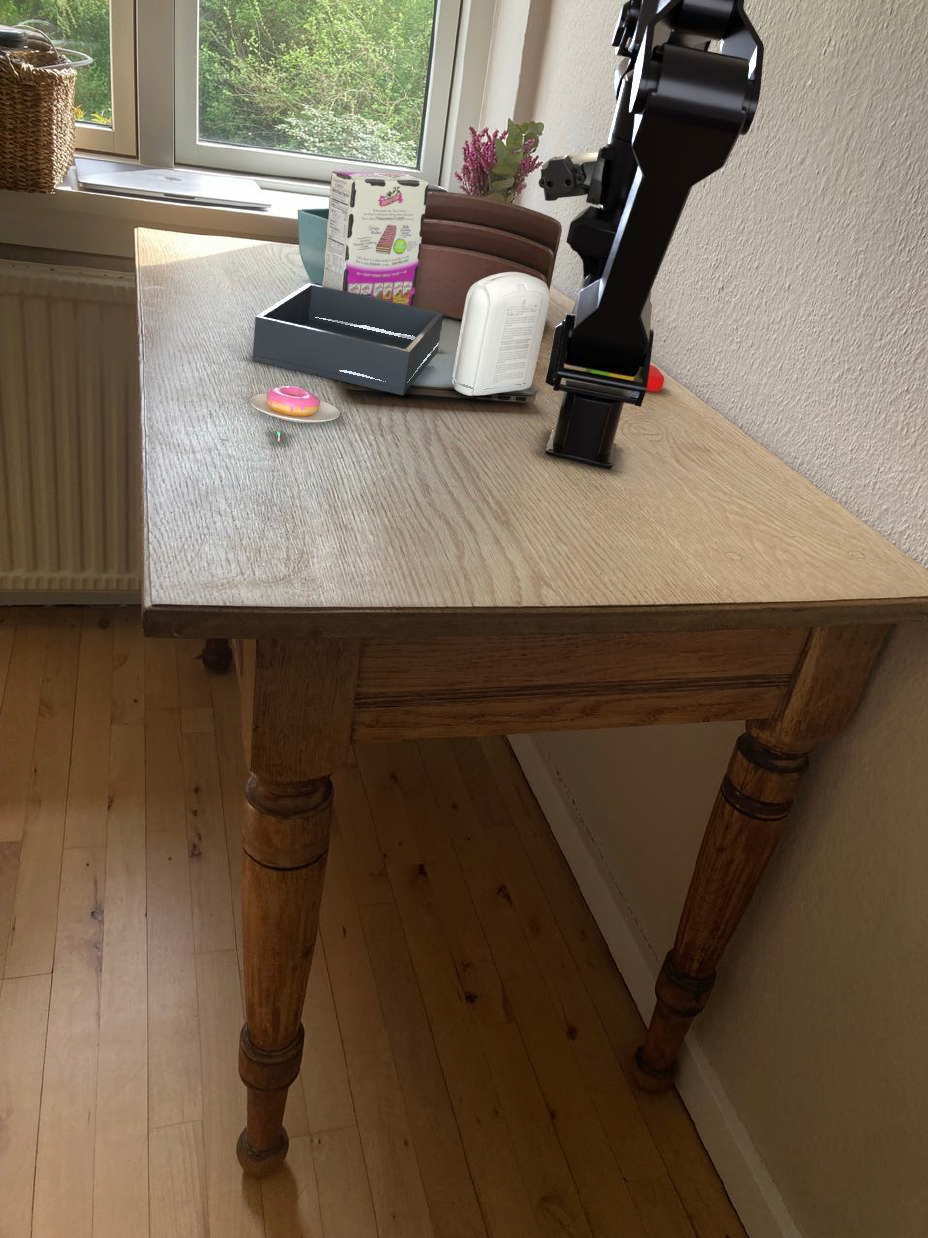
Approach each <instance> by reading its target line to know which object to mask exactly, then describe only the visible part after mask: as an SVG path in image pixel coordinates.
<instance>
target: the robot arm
mask: <svg viewBox="0 0 928 1238" xmlns="http://www.w3.org/2000/svg"><path fill="white" fill-rule="evenodd" d="M744 7H745V0H627V1H625V3H623V4H622V6H621V9H620V13H619V16H618V19H617V22H616V25H615V28H614V32H613V35H612V41H611V47H615V56H618V57H622V58H623V59H622V60H621V61H620V62H619V64H618V66H617V68H616V70H615V72H614V78H613V79H614V80H613V84H614V85H613V86H614V94H615V101H616V108H615V111H614V116H613V120H612V124H611V128H610V132H609V135H608V140H607V141H606V143H605V144H603V146H601V147H600V148H599V150H598V152H585V153H578V154H566V155H559V156H553V157H551V158H549V159H548V160H547V161H545V162H544V163H543V164H542V165H541V166H540V179H539V180H538V186H539V188H541V189H543V196H544V201H546V202H547V201H548V202H554V201H557V200H558V199H562V198H571V197H572V198H573V197H581V196H586V199H585V203H586V204H587V203H588V204H590V206H588V207H586V208H585V209H583V210H581V211H580V212H578V213H577V215H576V216H574V218H573V219H572V221H571V222H570V224H569V227H568V232H567V235H566V236H567V237H566V241H565V243H566V244H568V245H569V247H570V249H571V250H572V251H573V252H575V253H576V254H577V255H578V256H579V258H580V259H581V261H582V271H583V272H582V273H583V274H582V278H583V280H582V283H581V287H580V290H579V292H578V293H577V296H576V299H575V301H574V305H573V308H572V311H571V313H568V312H565V313H564V316H563V319H561V321H560V323H559V324H558V325H556V326H555V327H554V331H553V337H552V343H551V348H550V353H549V354H550V355H549V360H548V361H549V365H548V366H547V370H546V375H545V379H544V383H545V384H546V385H549V386H550V387H552V391H554V392H559V391H561V392H563V396H562V400H561V404H560V408H559V412H558V417H557V422H556V426H555V428H554V429H551V432H550V435H549V438H548V441H547V443H546V448H545V451H544V454H545V455H546V456H549V457H553V458H558V459H560V460H561V459H562V460H566V461H571V462H575V463H579V464H583V465H587V466H590V467H591V466H592V467H597V468H601V469H605V470H612V469H613V466H614V460H615V454H616V448H617V444H616V443H615V438H616V434H617V432H618V431H617V430H618V427H619V423H620V419H621V415H622V412H623V407H624V404H629V405H634V406H635V407H642V404H643V402H644V399H645V396H646V394H647V391H646V390H647V385H648V377H649V369H650V365H651V360H652V352H653V344H654V338H655V337H654V335H655V333H654V332H655V331H654V329H653V328H651V323H652V312H653V303H652V301H651V297H652V289H653V285H654V284H655V281H656V279H657V276H658V274H659V271H660V268H661V266H662V264H663V261H664V259H665V257H666V254H667V252H668V250H669V246H670V244H671V242H672V239H673V236H674V233H675V231H676V229H677V226H678V224H679V221H680V219H681V216H682V214H683V211H684V209H685V206H686V204H687V202H688V199H689V196H690V193H691V191H692V189H693V187H694V186H695V185H697V184H699V183H700V182H702V181H704V180H705V179H707V178H708V177H710V176H711V175H713V174H714V173H716V172H718V171H720V170H721V169H722V168H723V167H725V165H726V163H727V162H728V160H729V158H730V156H731V153H732V151H733V150H734V148H735V145H736V144H737V141H738V139H739V137H740V136H744V137H745V136H746V135H747V134H748V133H749V130H750V129H751V127H752V124H753V121H754V119H755V116H756V112H757V109H758V105H759V100H760V96H761V89H762V81H763V80H762V78H763V66H764V55H765V46H764V42H763V41H762V39H761V37H760V36H759V34H758V31H757V30H756V28H755V27H754V25H753V23H752V21H751V20H750V19H751V18H749V16H748V14H747V13H746V11H745V8H744ZM712 41H716V42H720V46H719V47H720V48H719V49H720V53H719V52H716V51H715V52H714V51H709V48H710V45H711V43H712ZM593 205H594V206H593ZM599 205H600V206H599ZM596 206H599V207H596ZM564 364H566V365H569V366H575V367H580V368H585V369H591V370H596V371H601V372H606V373H612V374H617V375H622V376H627V377H634V380H633V381H632V380H627V379H622V378H616V377H611V376H606V375H600V374H595V373H590V372H585V371H580V370H574V369H569V368H564Z"/></svg>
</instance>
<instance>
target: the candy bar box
mask: <svg viewBox="0 0 928 1238" xmlns="http://www.w3.org/2000/svg"><path fill="white" fill-rule="evenodd" d="M428 184H430V182H428V181H426V180H425V179H422V178H419V177H417V176H413V175H412V174H407V173H392V172H391V173H390V172H389V173H388V172H370V171H369V172H366V171H365V172H363V171H343V170H332V171H331V177H330V189H329V201H328V208H329V212H328V224H327V238H326V248H325V262H324V273H323V285H321V286H324V287H328V288H333V289H337V290H342V291H346V292H350V293H355V294H359V295H364V296H368V297H373V298H377V299H382V300H386V301H390V302H395V303H399V304H404V305H408V306H413V301H414V293H415V285H416V277H417V269H418V262H419V253H420V245H421V238H422V231H423V223H424V215H425V207H426V200H427V192H428Z"/></svg>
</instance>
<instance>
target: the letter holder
mask: <svg viewBox="0 0 928 1238" xmlns="http://www.w3.org/2000/svg"><path fill="white" fill-rule="evenodd" d="M562 227H563V226H562V224H561V222H560V221H559V220H557V219H556V218H554V217H553V216H550V215H548V214H544V213H542V212H539V211H537V210H534V209H531V208H528V207H525V206H521V205H519V204H514V203H511V202H507V201H504V200H500V199H495V198H491V197H486V196H481V195H475V194H474V195H473V194H469V193H468V194H467V193H459V192H452V191H448V192H440V191H428V192H427V200H426V207H425V215H424V223H423V231H422V238H421V245H420V253H419V262H418V269H417V277H416V285H415V293H414V301H413V307H417V308H421V309H426V310H430V311H435V312H439V313H443V314H444V315H443V318H449V319H453V320H458V321H461V322H462V318H463V313H464V307H465V302H466V297H467V293H468V291H469V289H470V287H471V286H472V285H473V284H475V283H476V282H478V281H479V280H481V279H483V278H486V277H488V276H491V275H495V274H499V273H505V272H519V273H524V274H527V275H530V276H532V277H535V278H538V279H540V280H541V281H543V282H544V283H546V285H547V287H548V289H549V291H550V289H551V285H552V280H553V276H554V271H555V265H556V262H557V261H556V260H557V255H558V252H559V247H560V242H561V237H562V232H563V228H562Z"/></svg>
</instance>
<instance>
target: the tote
mask: <svg viewBox="0 0 928 1238" xmlns="http://www.w3.org/2000/svg"><path fill="white" fill-rule="evenodd" d="M443 315H444V314H443V313H439V312H435V311H430V310H426V309H421V308H417V307H413V306H408V305H404V304H399V303H395V302H390V301H386V300H382V299H377V298H373V297H368V296H364V295H359V294H355V293H350V292H346V291H342V290H337V289H333V288H328V287H324V286H322V285H320V284H316V283H310V282H307V283H306V284H305V285H303V286H302V287H300V288H298V289H297V290H295V291H294V292H292V293H291V294H288V295H287V296H286V297H283V298H282V299H281V300H279V301H278V302H276V303H275V304H273V305H271V306H270V307H269V308H267V309H265V310H263V311H262V312H261V313H259V314H257V315H256V316H255V317H254V332H253V344H252V346H253V347H252V348H253V349H252V361H253V362H256V363H261V364H265V365H270V366H273V367H278V368H283V369H286V370H291V371H295V372H300V373H304V374H308V375H313V376H317V377H320V378H325V379H330V380H335V381H338V382H343V383H347V384H351V385H357V386H361V387H365V388H369V389H374V390H377V391H381V392H386V393H390V394H395V395H399V396H404V395H405V394H406V393H407V391H408V390H410V388H411V387H412V385H413V384H414V383H415V382H416V380H418V377H420V376H421V374H422V373H423V372H424V370H425V369H426V367H427V366H428V365H429V364H430V362H431V361H432V360H433V358H434V357H435V356H436V355H437V354H438V351H439V347H440V346H439V345H438V346H437V347H436V348H435V350H434V351H433V352H432V353H431V355H430V356H429V357H428V358H427V360H426V361H425V362H424V363H423V364H422V366H421V367H420V368H419V369H418V371H417V372H416V373H415V371H416V370H417V368H418V367H419V366H420V364H421V363H422V362H423V360H424V359H425V358H426V357H427V355H428V354H429V353H430V352H431V351H432V350H433V348H434V347H435V346H436V345H437V343H438V342H439V343H440V339H441V332H442V326H443V320H444V317H443ZM315 317H319V318H326V319H332V320H338V321H343V322H348V323H353V324H357V325H367V326H370V327H375V328H379V329H384V330H386V331H391V332H394V333H401V334H407V335H411V336H412V335H413V336H415V337H416V338H415V339H414V340H411V339H407V338H402V337H398V336H394V335H389V334H385V333H381V332H376V331H372V330H367V329H363V328H359V327H354V326H350V325H345V324H341V323H337V322H332V321H328V320H323V319H319V318H315ZM339 370H347V371H352V372H356V373H360V374H364V375H367V376H370V377H373V378H375V379H380V380H382V381H379V380H375V379H370V378H366V377H362V376H357V375H353V374H349V373H344V372H340V371H339ZM414 373H415V374H414ZM413 374H414V376H413ZM412 376H413V377H412ZM411 377H412V378H411ZM410 378H411V379H410ZM409 379H410V381H409ZM383 381H384V382H383ZM385 381H386V382H385ZM408 381H409V382H408ZM407 382H408V383H407Z"/></svg>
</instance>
